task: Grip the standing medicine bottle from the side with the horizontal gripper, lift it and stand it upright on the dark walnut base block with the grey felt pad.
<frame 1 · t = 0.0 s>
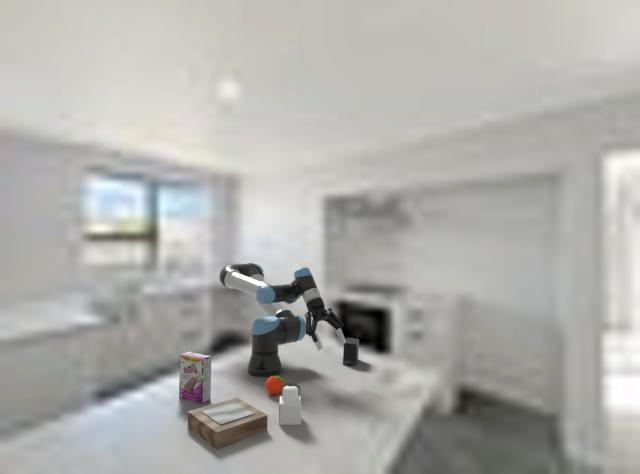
hand: (332, 346, 181), 15 cm above the table, tool tilted 35°, fingers open, 13 cm apart
clementine: (275, 394, 168), on the table
small box: (350, 362, 210), on the table
walnut base: (227, 428, 138), on the table
candy bar box: (194, 399, 161), on the table
medicine bottle: (289, 421, 145), on the table
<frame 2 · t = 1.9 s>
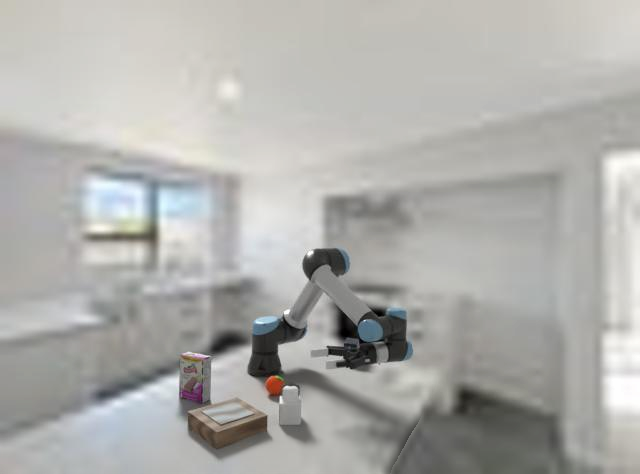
hand: (318, 359, 149), 20 cm above the table, tool horizontal, fingers open, 13 cm apart
nothing on the table moved.
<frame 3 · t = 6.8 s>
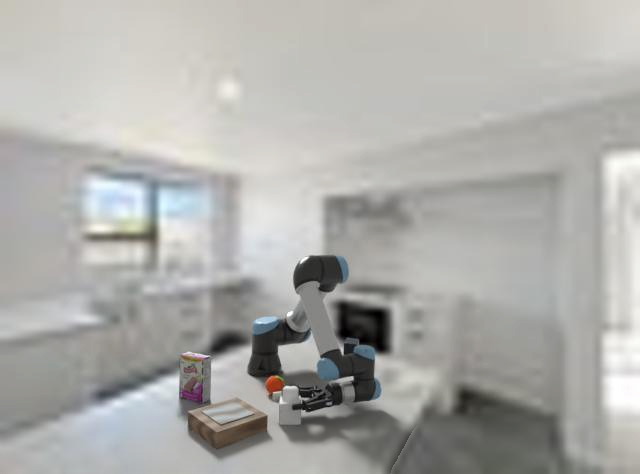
hand: (277, 402, 144), 7 cm above the table, tool horizontal, fingers closed on medicine bottle, 9 cm apart
medicine bottle: (289, 421, 145), on the table, touching gripper
everything else where it was.
when the fingers open (14 cm above the table, at t = 12.4 s): medicine bottle drops 1 cm, resting on walnut base.
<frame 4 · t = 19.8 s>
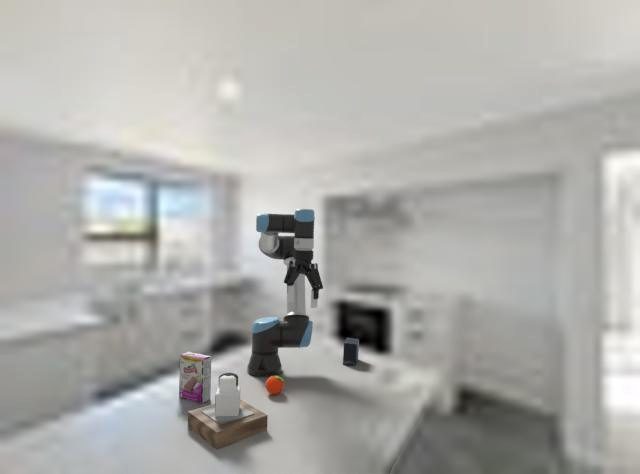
hand: (302, 304, 167), 35 cm above the table, tool pointing down, fingers open, 13 cm apart
medicine bottle: (227, 412, 138), point 5 cm above the table, touching walnut base
everything else where it was.
at the end: medicine bottle inside the target area on the walnut base (0.1 cm from its centre), point 5.1 cm above the walnut base's base; medicine bottle tilted 0°; the gripper is holding nothing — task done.
